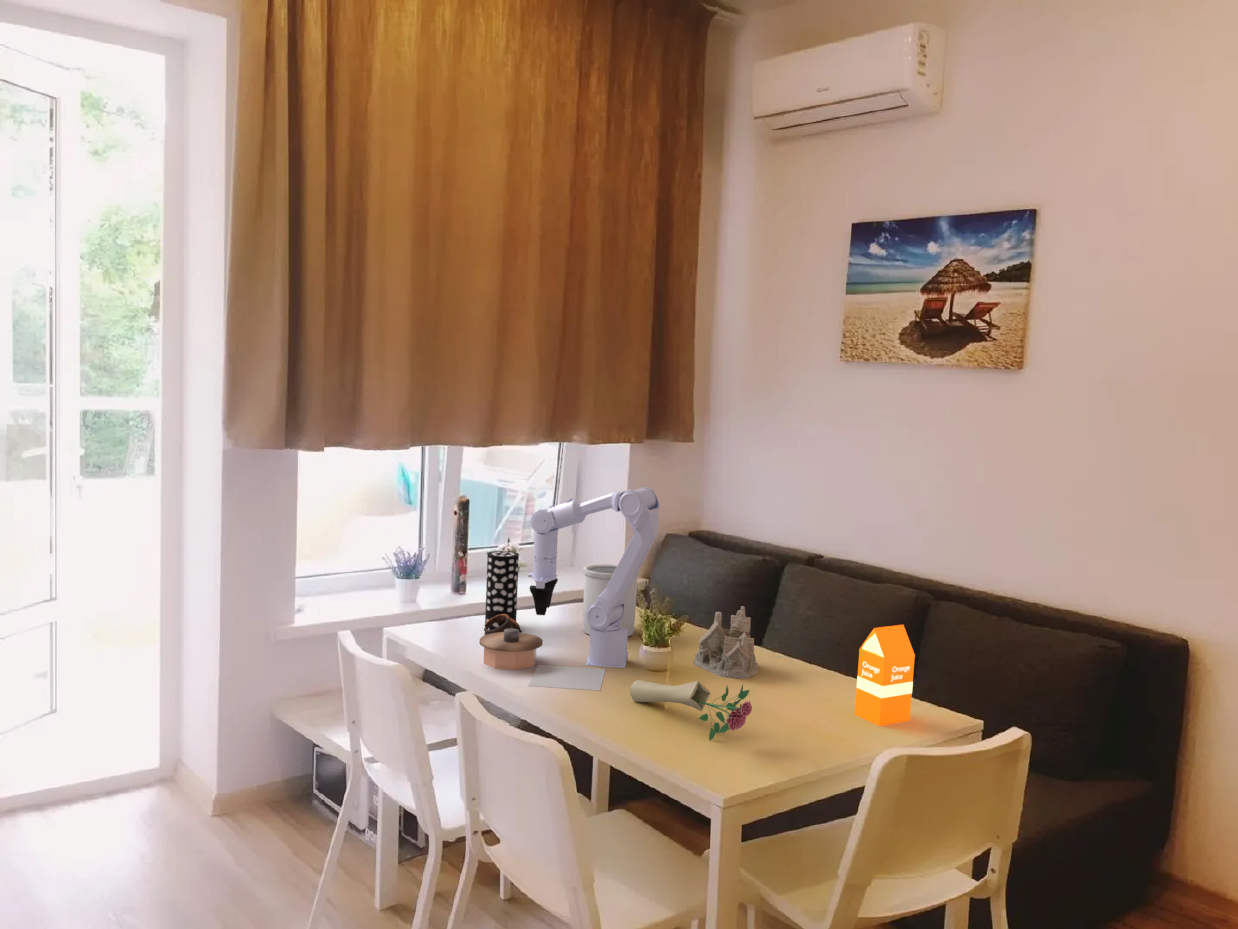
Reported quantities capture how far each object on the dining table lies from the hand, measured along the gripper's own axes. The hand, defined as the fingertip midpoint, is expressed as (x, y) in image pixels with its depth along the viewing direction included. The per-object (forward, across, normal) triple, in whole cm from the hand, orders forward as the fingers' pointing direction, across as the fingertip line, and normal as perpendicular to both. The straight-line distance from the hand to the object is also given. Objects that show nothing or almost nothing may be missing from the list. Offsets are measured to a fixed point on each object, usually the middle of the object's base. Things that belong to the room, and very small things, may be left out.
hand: (542, 611), depth 259 cm
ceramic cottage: (+11, +3, +45) cm, 47 cm away
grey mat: (+10, +20, +9) cm, 24 cm away
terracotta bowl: (+10, +11, -6) cm, 16 cm away
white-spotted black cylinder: (+11, -21, -14) cm, 27 cm away
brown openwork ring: (+11, -7, -11) cm, 17 cm away
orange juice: (+11, +32, +78) cm, 85 cm away
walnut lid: (+5, +11, -6) cm, 14 cm away
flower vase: (+11, +45, +37) cm, 59 cm away
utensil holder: (+11, -23, +15) cm, 29 cm away
